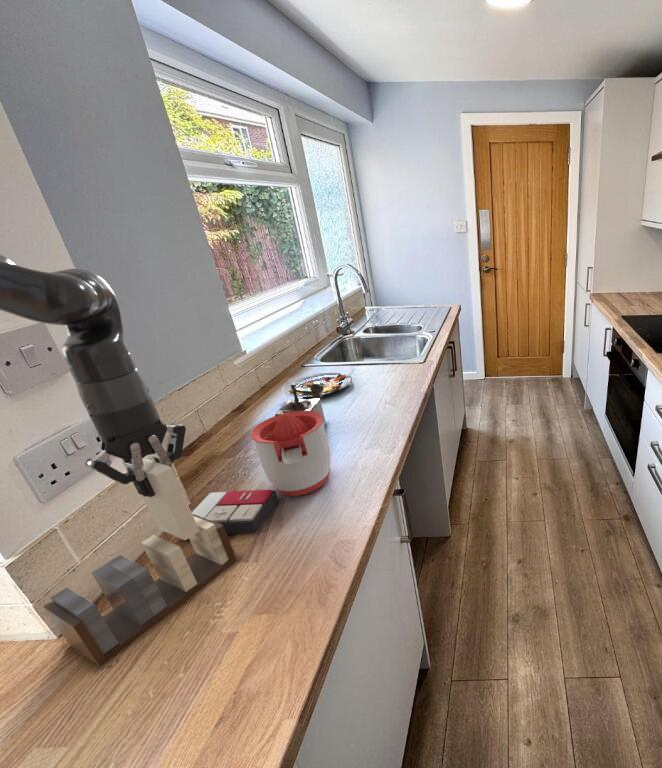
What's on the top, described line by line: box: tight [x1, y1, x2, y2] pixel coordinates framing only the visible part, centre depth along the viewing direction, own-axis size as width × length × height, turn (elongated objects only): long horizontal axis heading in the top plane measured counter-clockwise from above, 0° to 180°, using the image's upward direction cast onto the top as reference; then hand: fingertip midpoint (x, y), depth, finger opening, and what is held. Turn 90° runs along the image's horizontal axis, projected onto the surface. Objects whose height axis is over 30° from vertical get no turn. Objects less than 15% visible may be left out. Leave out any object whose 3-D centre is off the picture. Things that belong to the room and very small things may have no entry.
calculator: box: [191, 489, 279, 535], centre depth 91 cm, size 11×4×15 cm
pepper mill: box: [274, 382, 327, 428], centre depth 124 cm, size 16×11×18 cm
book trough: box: [42, 514, 238, 667], centre depth 71 cm, size 9×22×10 cm, turn 157°
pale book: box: [141, 457, 199, 541], centre depth 71 cm, size 8×2×14 cm, turn 67°
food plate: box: [281, 372, 353, 398], centre depth 159 cm, size 25×23×4 cm
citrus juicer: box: [250, 411, 331, 497], centre depth 99 cm, size 16×17×20 cm
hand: (160, 489), depth 70 cm, fingers closed on pale book, 2 cm apart
